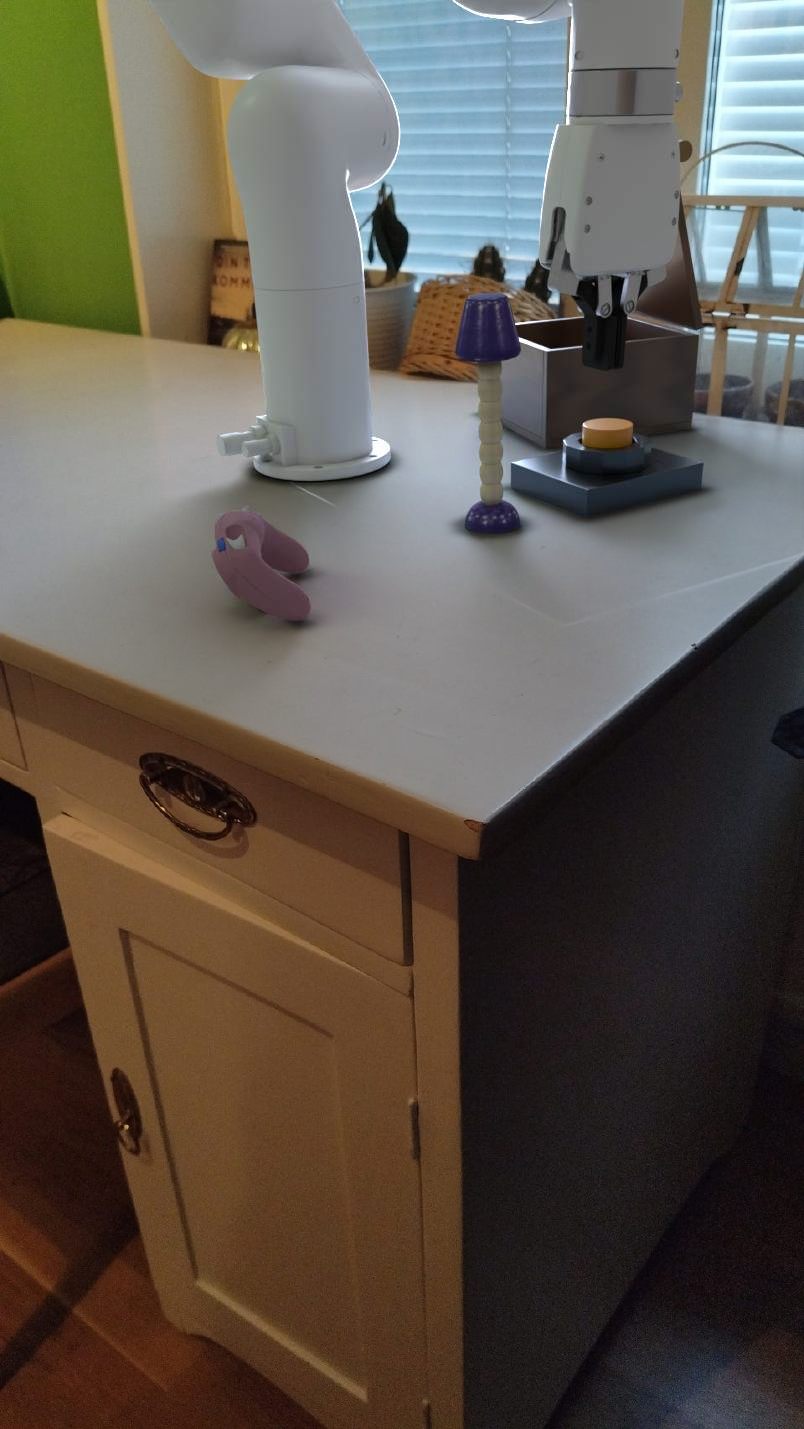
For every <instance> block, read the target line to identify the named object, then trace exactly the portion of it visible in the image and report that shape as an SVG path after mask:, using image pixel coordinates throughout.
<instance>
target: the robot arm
mask: <svg viewBox="0 0 804 1429" xmlns="http://www.w3.org/2000/svg"><path fill="white" fill-rule="evenodd" d="M452 1H453V2H454V3H456V4H457V5H458V6H460V7H462V8H463V9H465V10H467V11H469V12H470V13H473V14H475V15H478V16H481V17H489V18H494V19H495V18H496V19H503V20H507V21H510V22H516V23H523V24H541V23H547V22H552V21H557V20H561V19H566V18H571V22H570V23H571V26H570V44H569V62H568V63H569V64H568V65H569V66H568V71H569V72H568V86H567V87H568V89H567V104H566V105H567V106H566V115H567V116H566V123H565V124H557V125H556V129H555V131H554V136H553V140H552V142H551V143H552V144H551V148H550V151H549V156H548V161H547V167H546V172H545V179H544V187H543V195H542V202H541V212H540V222H539V223H540V224H539V235H538V236H539V237H538V261H539V263H540V266H541V267H542V268H544V269H546V270H548V271H549V274H548V278H547V283H546V284H547V289H548V290H549V291H551V292H555V293H559V294H564V295H569V296H570V297H571V299H572V300H573V301H574V302H575V304H576V308H577V311H578V313H580V314H583V316H584V326H583V342H582V364H583V365H584V366H587V367H591V368H594V369H598V370H602V371H610V370H612V369H621V368H623V365H624V354H625V341H626V328H627V315H628V316H631V315H633V314H632V313H633V312H634V311H635V308H636V304H637V300H638V298H639V297H640V295H641V294H642V293H643V291H644V290H645V289H646V287H650V286H652V285H655V284H657V283H659V282H661V281H663V280H664V279H665V278H666V275H667V270H666V263H668V262H669V261H670V260H671V258H672V256H673V253H674V249H675V244H676V237H677V229H678V218H679V202H680V191H681V162H680V148H679V140H680V134H679V125H678V124H679V123H678V122H677V121H676V122H675V121H674V118H675V115H674V114H675V107H676V106H675V105H676V103H678V102H679V101H681V99H682V96H683V93H684V92H683V90H684V88H683V85H682V83H681V82H679V81H678V74H679V71H678V70H679V69H678V68H679V62H680V49H681V41H682V29H683V19H684V8H685V0H452ZM147 2H148V4H149V5H150V6H151V9H152V10H153V12H154V13H155V14H156V16H157V17H158V19H159V20H160V22H161V24H162V25H163V27H164V28H165V30H166V32H167V33H168V35H169V37H170V38H171V40H172V41H173V42H174V45H175V46H176V47H177V49H178V50H179V51H180V53H181V54H182V56H183V58H184V59H185V60H186V61H187V62H188V64H190V65H191V66H192V68H194V69H195V70H197V71H198V72H200V73H201V74H204V75H206V76H208V77H212V78H216V79H225V80H236V81H237V80H238V81H239V80H240V81H241V80H242V81H243V80H244V81H247V82H246V83H244V85H243V86H241V88H240V90H239V91H238V92H237V95H236V96H235V97H234V100H233V102H232V105H231V107H230V110H229V113H228V118H227V123H226V124H227V125H226V126H227V127H226V142H227V153H228V158H229V163H230V167H231V172H232V175H233V180H234V183H235V186H236V190H237V193H238V197H239V201H240V207H241V209H242V214H243V219H244V224H245V231H246V238H247V244H248V253H249V262H250V272H251V281H252V287H253V296H254V297H253V298H254V307H255V316H256V317H255V318H256V327H257V338H258V348H259V358H260V368H261V376H262V377H261V378H262V387H263V396H264V397H263V399H264V407H265V414H261V415H256V416H255V422H256V424H255V425H252V426H249V427H248V430H247V431H242V432H238V431H236V432H230V433H229V432H228V433H224V434H218V435H217V436H216V447H217V450H218V453H219V455H220V457H222V458H226V457H231V456H237V455H241V454H242V455H243V457H244V458H246V459H247V458H251V457H253V458H252V459H253V466H254V469H255V470H256V471H257V472H258V473H259V474H262V475H264V476H266V477H270V478H274V479H279V480H285V481H287V480H288V481H297V482H298V481H300V482H301V481H303V482H305V481H306V482H315V481H317V482H318V481H330V480H331V481H334V480H342V479H348V478H353V477H358V476H362V475H366V474H370V473H372V472H375V471H377V470H379V469H381V468H383V467H385V466H386V465H387V464H388V463H390V461H391V458H392V455H391V454H392V453H391V446H390V445H389V443H388V442H386V441H384V440H383V439H380V438H377V437H375V436H374V433H373V432H374V430H373V414H372V413H373V412H372V396H371V394H372V393H371V378H370V376H371V375H370V359H369V356H370V355H369V339H368V322H367V320H368V319H367V303H366V302H367V300H366V285H365V284H366V282H365V272H364V270H365V269H364V258H363V257H364V256H363V249H362V248H363V247H362V240H361V235H360V230H359V225H358V222H357V218H356V214H355V211H354V208H353V204H352V201H351V196H350V193H352V192H356V191H361V190H364V189H367V188H369V187H372V186H373V185H375V184H377V183H378V182H379V181H380V180H382V179H383V178H384V177H385V176H386V175H387V173H388V172H389V171H390V169H391V168H392V167H393V164H394V162H395V161H396V158H397V155H398V151H399V147H400V140H401V126H400V119H399V115H398V110H397V107H396V105H395V101H394V99H393V96H392V94H391V92H390V90H389V89H388V86H387V85H386V83H385V81H384V79H383V77H382V76H381V74H380V73H379V71H378V69H377V68H376V66H375V64H374V62H373V61H372V60H371V58H370V56H369V55H368V53H367V51H366V49H365V48H364V47H363V45H362V43H361V42H360V40H359V38H358V36H357V35H356V33H355V32H354V30H353V29H352V27H351V25H350V24H349V22H348V20H347V18H346V17H345V15H344V13H342V10H341V9H340V7H339V5H338V3H337V2H336V1H335V0H147ZM622 277H623V278H622Z"/></svg>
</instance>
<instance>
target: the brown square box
mask: <svg viewBox="0 0 804 1429" xmlns="http://www.w3.org/2000/svg"><path fill="white" fill-rule="evenodd" d="M515 324H516V328H517V332H518V336H519V340H520V345H521V352H520V354H519V355H518V356H517V357H515V358H512V359H509V360H505V361H501V362H502V372H501V375H500V377H499V378H500V380H501V383H502V395H501V397H500V401H501V403H502V407H503V412H502V417H501V419H500V421H501V423H502V426H503V427H504V428H507V429H509V430H510V431H512V432H514V433H516V434H518V435H520V436H522V437H523V438H524V439H527V440H529V441H531V442H533V443H535V444H536V445H538V446H540V447H542V448H543V449H553V448H559V447H563V440H564V439H565V438H567V437H568V436H570V435H571V434H575V433H580V432H582V430H583V423H584V422H586V421H589V420H593V419H600V418H616V419H624V420H627V421H630V422H632V423H633V432H635V433H639V434H642V435H646V436H649V435H656V434H663V433H671V432H676V431H677V432H678V431H685V430H686V431H687V430H691V429H692V427H693V416H694V415H693V414H694V402H695V392H696V391H695V390H696V379H697V366H698V356H699V341H700V334H698V333H694V332H692V331H687V330H683V329H680V328H676V327H672V326H669V325H665V324H662V323H657V322H654V321H650V320H647V319H643V318H639V317H635V316H631V315H627V328H626V341H625V354H624V365H623V368H621V369H612V370H610V371H602V370H598V369H594V368H591V367H587V366H584V365H583V364H582V342H583V326H584V315H582V316H573V317H572V316H571V317H564V318H563V317H561V318H554V319H543V320H533V321H524V322H515Z"/></svg>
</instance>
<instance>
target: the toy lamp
mask: <svg viewBox="0 0 804 1429" xmlns="http://www.w3.org/2000/svg"><path fill="white" fill-rule="evenodd" d="M515 323H516V320H515V316H514V313H513V309H512V305H511V302H510V299H509V297H508V295H506V294H504V293H502V292H480V293H475V294H470V295H469V296H468V297H466V299H465V301H464V305H463V309H462V313H461V318H460V323H459V327H458V328H459V329H458V332H457V338H456V343H455V349H454V353H455V358H457V359H458V360H460V361H463V362H469V363H476V373H477V376H478V377H479V380H478V383H477V396H478V398H479V400H480V401H479V402H478V407H477V414H478V418H479V420H480V423H479V426H478V437H479V441H480V444H479V448H478V457H479V461H480V466H479V472H478V473H479V478H480V481H481V484H480V488H479V497H480V499H481V500H479V501H477V502H476V503H474V504H473V505H471V507H470V508H469V509H468V511H467V513H466V515H465V520H464V526H465V528H466V529H467V530H469V531H472V532H474V533H477V534H487V535H495V534H496V535H497V534H505V533H509V532H513V531H515V530H517V529H518V528H520V526H521V518H520V515H519V511H518V510H517V508H516V507H515V506H514V505H513V504H512V503H510V502H509V501H507V500H504V499H503V497H504V486H503V483H502V481H503V477H504V467H503V464H502V460H503V456H504V447H503V444H502V440H503V436H504V426H503V425H502V423H501V421H500V419H501V417H502V412H503V407H502V403H501V401H500V397H501V395H502V383H501V380H500V378H499V377H500V375H501V372H502V362H501V361H505V360H509V359H512V358H515V357H517V356H518V355H519V354H520V352H521V345H520V340H519V336H518V332H517V328H516V324H515Z"/></svg>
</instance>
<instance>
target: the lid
mask: <svg viewBox="0 0 804 1429" xmlns="http://www.w3.org/2000/svg"><path fill="white" fill-rule="evenodd" d="M679 148H680V163H686V162H687V161H689V160H690V159H691V157H692V155H693V150H694V149H693V145H692V143H691V142H690V141H689V140H687V139H679ZM666 270H667V275H666V278H665V279H664V280H663V281H661V282H659V283H657V284H655V285H652V286H650V287H646V289H645V290H644V291H643V293H642V294H641V295H640V297H639V298H638V300H637V304H636V308H635V311H634V312H633V313H632V314H631V315H636V316H640V317H643V318H647V319H651V320H653V321H658V322H662V323H665V324H669V325H673V326H677V327H680V328H684V329H688V330H691V331H696V332H697V331H699V330H701V329H703V328H704V324H703V318H702V312H701V305H700V299H699V293H698V287H697V281H696V275H695V269H694V264H693V257H692V252H691V245H690V238H689V234H688V228H687V221H686V215H685V209H684V204H683V198H682V192H681V190H680V202H679V218H678V229H677V237H676V244H675V249H674V253H673V256H672V258H671V260H670V261H669V262H668V263H666ZM622 278H623V277H622Z"/></svg>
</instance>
